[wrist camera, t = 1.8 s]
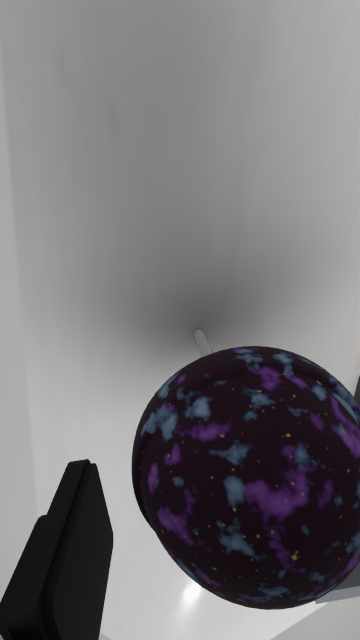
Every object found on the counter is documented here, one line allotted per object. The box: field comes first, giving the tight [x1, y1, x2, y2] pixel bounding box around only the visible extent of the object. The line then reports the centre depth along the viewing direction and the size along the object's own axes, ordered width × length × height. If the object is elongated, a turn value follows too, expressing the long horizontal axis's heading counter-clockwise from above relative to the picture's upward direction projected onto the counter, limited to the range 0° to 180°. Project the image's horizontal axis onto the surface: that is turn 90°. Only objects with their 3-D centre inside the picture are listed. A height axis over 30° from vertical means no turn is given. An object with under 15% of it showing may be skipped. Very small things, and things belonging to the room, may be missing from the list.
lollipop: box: [132, 329, 360, 610], centre depth 13 cm, size 7×7×15 cm
